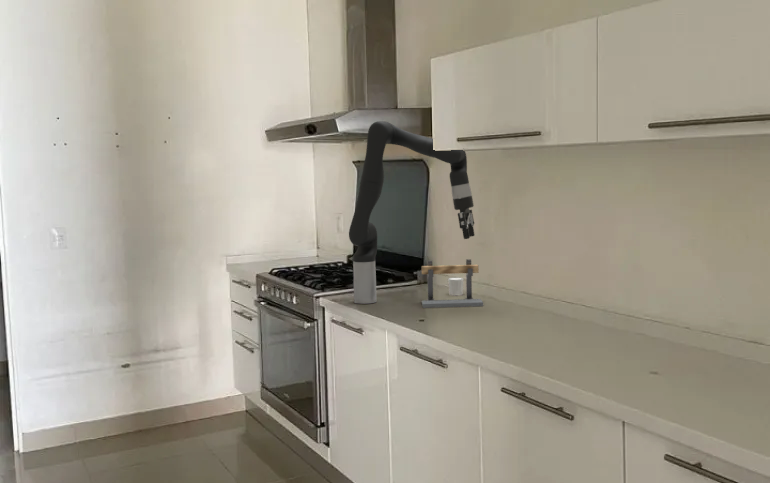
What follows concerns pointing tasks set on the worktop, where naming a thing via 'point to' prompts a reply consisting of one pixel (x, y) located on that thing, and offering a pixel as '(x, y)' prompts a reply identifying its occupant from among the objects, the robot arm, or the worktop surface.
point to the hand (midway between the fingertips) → (469, 237)
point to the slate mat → (451, 303)
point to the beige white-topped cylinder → (455, 286)
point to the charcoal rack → (468, 280)
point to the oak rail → (450, 269)
